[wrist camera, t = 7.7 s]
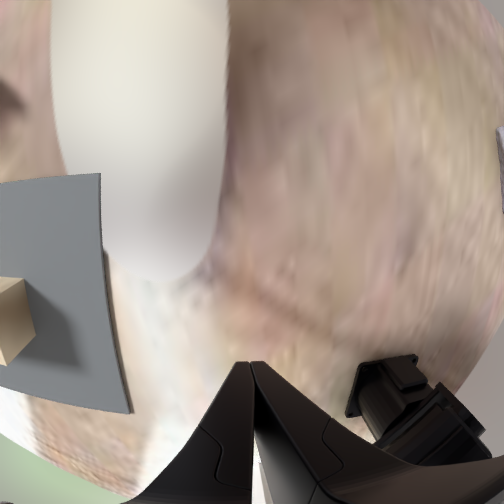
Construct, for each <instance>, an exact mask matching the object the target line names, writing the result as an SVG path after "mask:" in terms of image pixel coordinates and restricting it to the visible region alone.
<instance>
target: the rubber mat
mask: <svg viewBox="0 0 504 504" xmlns="http://www.w3.org/2000/svg"><path fill="white" fill-rule="evenodd" d="M100 184H101V173H93V174H80V175H67V176H56V177H46V178H37V179H28V180H20V181H13V182H6V183H0V277H11V278H24V283H25V289H26V294H27V299H28V304H29V308H30V313H31V317H32V321H33V325H34V329H35V333H36V336H35V337H34V338H33V339H32V340H31V341H30V342H29V343H28V344H27V345H26V346H25V347H24V348H23V349H22V350H21V351H20V352H19V354H18V355H17V356H16V357H15V358H14V359H13V360H12V361H11V362H10V363H9V364H8V366H5V365H1V364H0V386H2V387H5V388H8V389H11V390H14V391H17V392H21V393H24V394H28V395H31V396H35V397H39V398H43V399H47V400H51V401H55V402H59V403H64V404H69V405H73V406H78V407H84V408H89V409H95V410H101V411H107V412H114V413H122V414H130V408H129V404H128V401H127V397H126V393H125V389H124V385H123V380H122V376H121V372H120V367H119V362H118V357H117V352H116V347H115V342H114V336H113V330H112V324H111V318H110V311H109V304H108V297H107V288H106V280H105V270H104V259H103V245H102V228H101V185H100Z"/></svg>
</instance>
